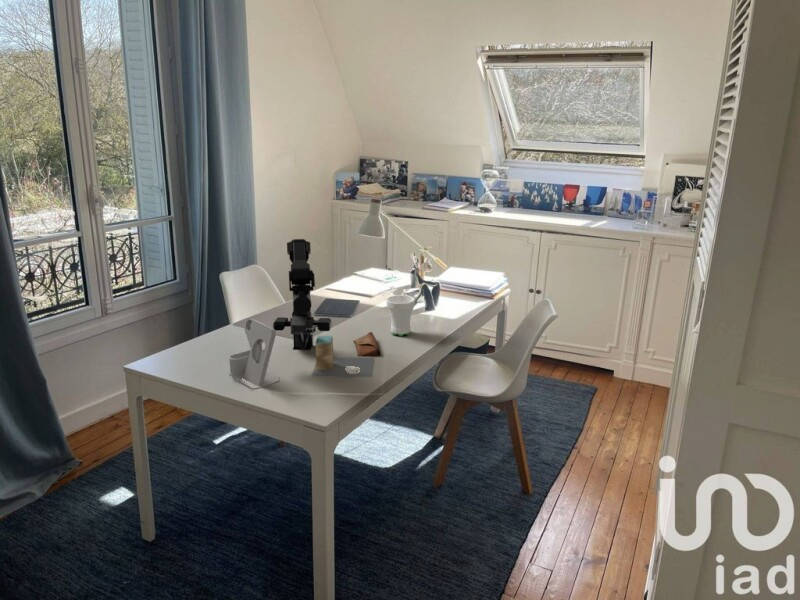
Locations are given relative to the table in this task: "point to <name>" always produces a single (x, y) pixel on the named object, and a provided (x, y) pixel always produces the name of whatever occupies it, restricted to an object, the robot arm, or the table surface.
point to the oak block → (324, 352)
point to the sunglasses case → (367, 345)
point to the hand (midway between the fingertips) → (303, 348)
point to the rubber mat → (342, 362)
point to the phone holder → (254, 356)
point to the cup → (400, 313)
